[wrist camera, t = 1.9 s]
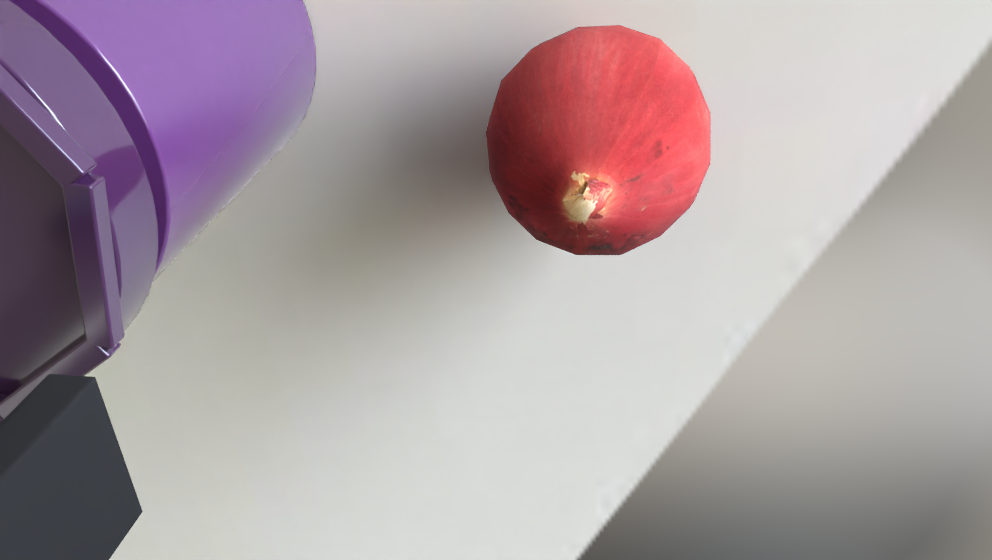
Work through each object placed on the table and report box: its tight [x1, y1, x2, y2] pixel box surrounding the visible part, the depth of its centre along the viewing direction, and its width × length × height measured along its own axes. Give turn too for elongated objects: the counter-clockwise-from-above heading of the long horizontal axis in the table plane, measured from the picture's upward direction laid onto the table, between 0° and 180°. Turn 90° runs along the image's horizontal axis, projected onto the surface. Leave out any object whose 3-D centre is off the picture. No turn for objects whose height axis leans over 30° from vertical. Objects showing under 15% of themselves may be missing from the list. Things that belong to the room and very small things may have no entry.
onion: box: [486, 25, 710, 255], centre depth 23 cm, size 6×6×8 cm
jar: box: [0, 0, 316, 423], centre depth 23 cm, size 10×10×13 cm
